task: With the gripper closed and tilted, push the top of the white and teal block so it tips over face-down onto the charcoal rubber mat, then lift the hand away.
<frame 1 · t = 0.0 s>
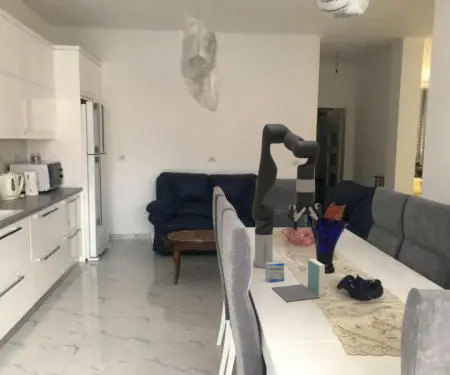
hand: (304, 229, 169), 29 cm above the table, tool pointing down, fingers open, 8 cm apart
mat: (294, 293, 178), on the table
white and teal block: (315, 290, 181), on the table
medicine box: (274, 280, 194), on the table
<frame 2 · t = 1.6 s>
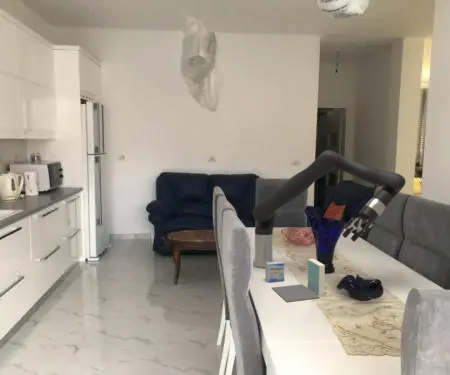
hand: (348, 238, 182), 22 cm above the table, tool tilted 45°, fingers open, 6 cm apart
nothing on the table moved.
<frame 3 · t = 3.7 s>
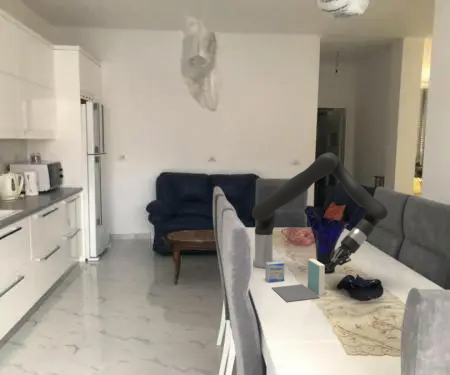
hand: (328, 269, 181), 9 cm above the table, tool tilted 45°, fingers closed
nothing on the table moved.
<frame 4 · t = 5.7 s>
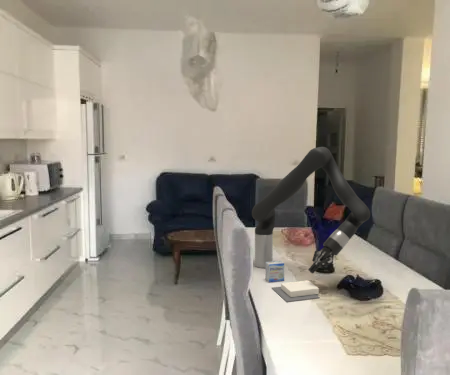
hand: (310, 271, 179), 9 cm above the table, tool tilted 45°, fingers closed
white and teal block: (313, 286, 180), point 2 cm above the table, tilted 90°, touching mat
everything else where it was.
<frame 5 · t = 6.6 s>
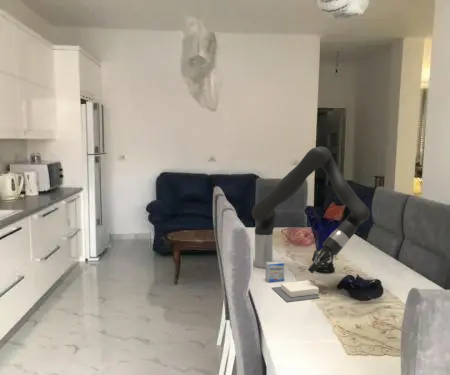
hand: (310, 271, 179), 9 cm above the table, tool tilted 45°, fingers closed
nothing on the table moved.
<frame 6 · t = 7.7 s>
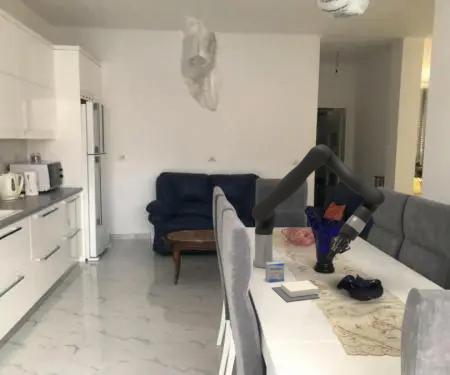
hand: (328, 258, 183), 13 cm above the table, tool tilted 40°, fingers closed
nothing on the table moved.
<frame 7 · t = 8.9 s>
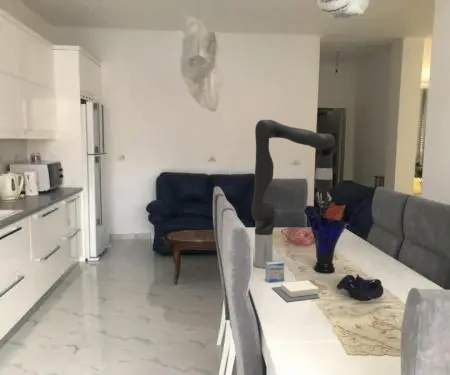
hand: (322, 215, 190), 31 cm above the table, tool pointing down, fingers closed
nothing on the table moved.
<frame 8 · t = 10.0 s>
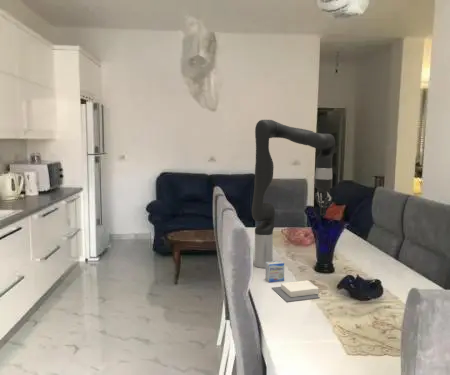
hand: (322, 215, 190), 31 cm above the table, tool pointing down, fingers closed
nothing on the table moved.
at the end: white and teal block tilted 90°; white and teal block touching mat; white and teal block inside the target area (3.7 cm from its centre), point 1.8 cm above the table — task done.
